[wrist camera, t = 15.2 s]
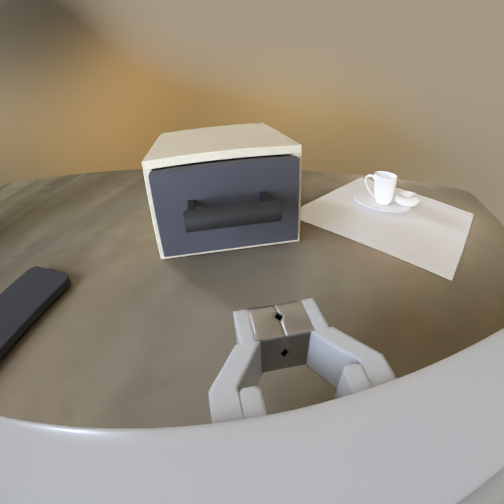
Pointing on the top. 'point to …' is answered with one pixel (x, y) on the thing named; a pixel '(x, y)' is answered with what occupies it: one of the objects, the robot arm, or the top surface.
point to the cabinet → (217, 155)
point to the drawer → (226, 203)
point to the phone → (27, 302)
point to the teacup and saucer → (394, 222)
